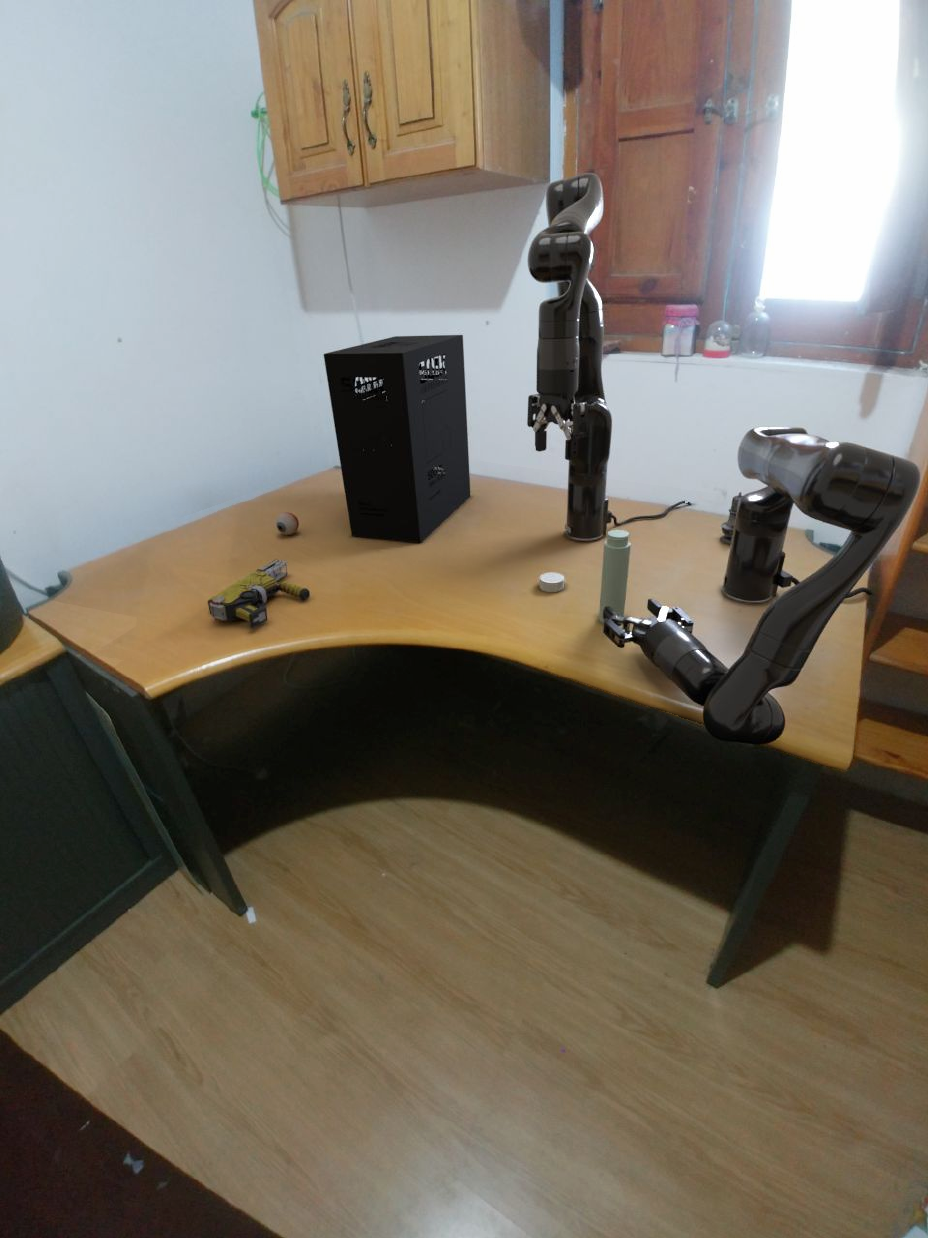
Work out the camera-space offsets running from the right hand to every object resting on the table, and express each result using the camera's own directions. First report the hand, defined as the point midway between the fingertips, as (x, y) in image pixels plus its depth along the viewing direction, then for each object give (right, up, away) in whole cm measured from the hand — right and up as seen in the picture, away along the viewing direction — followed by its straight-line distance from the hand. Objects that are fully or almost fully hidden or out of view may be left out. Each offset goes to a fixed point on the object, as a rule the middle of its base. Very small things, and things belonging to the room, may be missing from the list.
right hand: (627, 606), depth 109 cm
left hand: (-12, +30, +7) cm, 33 cm away
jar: (-1, -2, +8) cm, 9 cm away
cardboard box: (-44, +28, +64) cm, 83 cm away
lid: (-11, +6, +21) cm, 24 cm away
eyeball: (-77, +21, +56) cm, 98 cm away
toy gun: (-71, +2, +22) cm, 74 cm away
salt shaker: (+36, +17, +38) cm, 55 cm away
